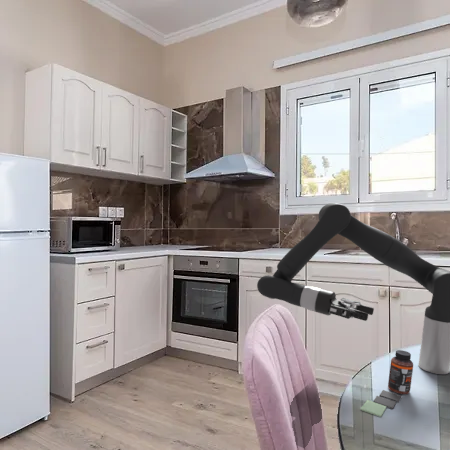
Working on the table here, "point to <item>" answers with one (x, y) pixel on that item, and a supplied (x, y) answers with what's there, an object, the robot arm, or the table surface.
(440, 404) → the table surface
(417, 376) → the table surface
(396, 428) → the table surface
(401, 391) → the supplement bottle
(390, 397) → the track
